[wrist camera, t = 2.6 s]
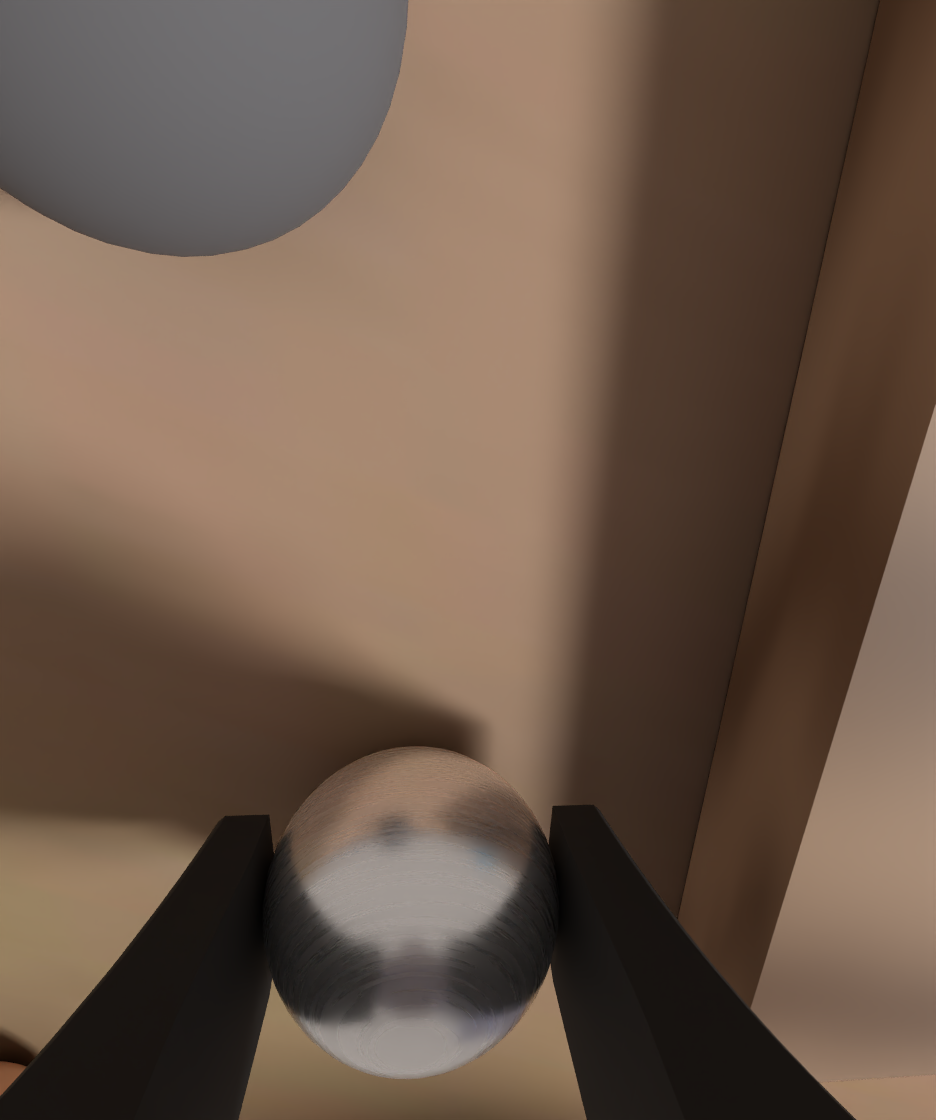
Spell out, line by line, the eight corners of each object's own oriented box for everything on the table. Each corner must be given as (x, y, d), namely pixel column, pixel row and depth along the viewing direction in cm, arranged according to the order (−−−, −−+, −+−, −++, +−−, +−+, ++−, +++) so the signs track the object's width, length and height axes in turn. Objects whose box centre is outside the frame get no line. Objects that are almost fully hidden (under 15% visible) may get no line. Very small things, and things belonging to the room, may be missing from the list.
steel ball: (525, 875, 12) (574, 1141, 8) (299, 884, 12) (247, 1163, 8) (541, 688, 10) (609, 916, 7) (280, 693, 10) (204, 935, 6)
